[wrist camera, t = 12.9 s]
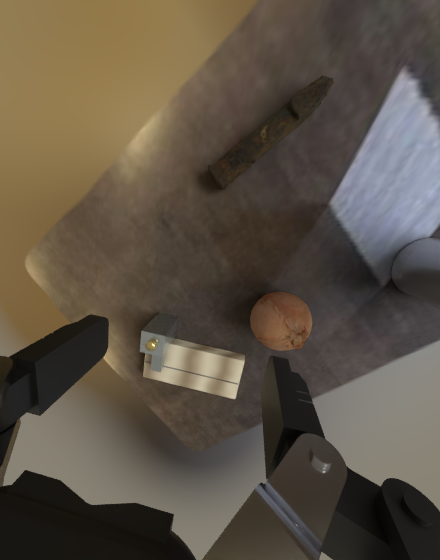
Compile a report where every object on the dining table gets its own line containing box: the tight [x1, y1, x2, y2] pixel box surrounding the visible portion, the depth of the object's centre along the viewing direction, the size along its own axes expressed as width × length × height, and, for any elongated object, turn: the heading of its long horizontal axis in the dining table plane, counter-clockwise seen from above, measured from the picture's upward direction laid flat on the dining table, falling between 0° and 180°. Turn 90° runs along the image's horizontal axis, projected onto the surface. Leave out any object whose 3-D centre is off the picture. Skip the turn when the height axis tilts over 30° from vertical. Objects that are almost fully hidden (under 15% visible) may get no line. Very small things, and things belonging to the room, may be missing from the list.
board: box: [143, 338, 245, 399], centre depth 42 cm, size 19×9×2 cm, turn 80°
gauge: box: [140, 313, 178, 372], centre depth 39 cm, size 4×10×8 cm, turn 170°
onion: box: [250, 292, 312, 351], centre depth 34 cm, size 10×9×10 cm
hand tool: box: [208, 76, 334, 190], centre depth 30 cm, size 19×4×5 cm, turn 124°
